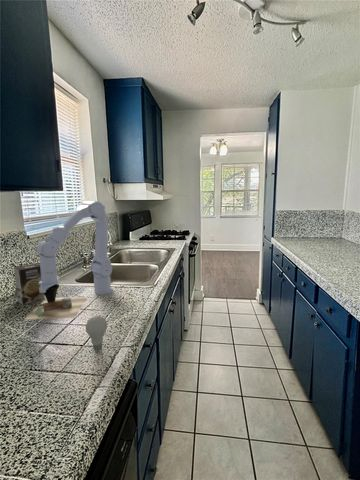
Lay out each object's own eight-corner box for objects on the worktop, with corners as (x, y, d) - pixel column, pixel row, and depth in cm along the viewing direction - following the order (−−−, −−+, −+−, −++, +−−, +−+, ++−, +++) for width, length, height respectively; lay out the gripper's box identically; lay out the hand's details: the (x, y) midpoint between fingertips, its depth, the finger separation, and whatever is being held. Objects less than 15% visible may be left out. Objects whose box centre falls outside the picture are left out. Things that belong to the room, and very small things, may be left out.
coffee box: (23, 307, 105) (19, 270, 103) (17, 303, 109) (13, 267, 107) (45, 300, 113) (42, 265, 110) (38, 296, 116) (35, 262, 114)
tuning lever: (70, 303, 106) (70, 297, 106) (72, 306, 103) (72, 299, 103) (39, 310, 100) (38, 303, 100) (40, 313, 97) (39, 306, 97)
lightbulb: (100, 342, 81) (99, 310, 79) (112, 349, 77) (110, 316, 75) (83, 351, 76) (80, 317, 74) (94, 359, 72) (92, 324, 70)
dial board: (47, 300, 113) (46, 297, 113) (88, 298, 114) (88, 296, 114) (24, 321, 93) (23, 318, 93) (74, 320, 95) (74, 317, 95)
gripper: (46, 266, 107) (48, 296, 110) (29, 277, 93) (32, 311, 95) (63, 265, 108) (65, 295, 110) (49, 276, 94) (52, 310, 96)
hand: (51, 303), depth 103 cm, fingers closed
